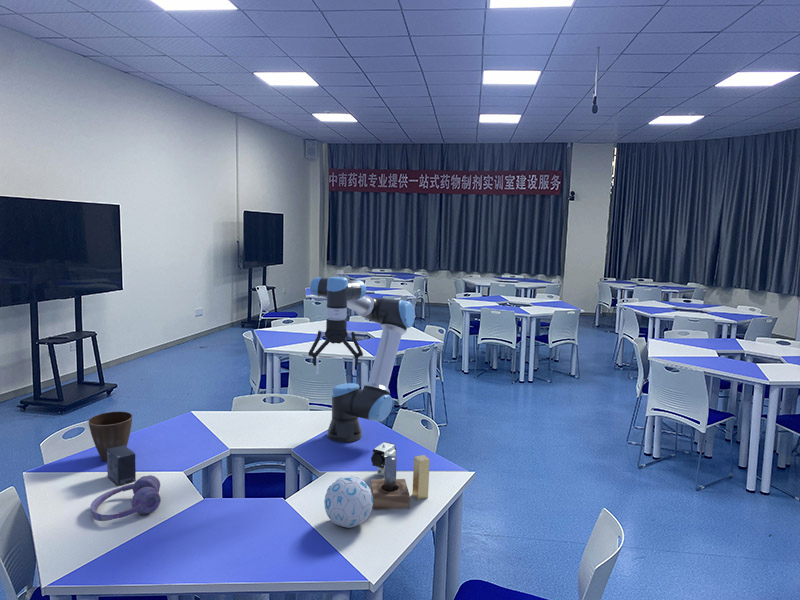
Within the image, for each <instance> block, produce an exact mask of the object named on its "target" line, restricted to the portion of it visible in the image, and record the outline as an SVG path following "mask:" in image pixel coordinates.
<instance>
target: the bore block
mask: <svg viewBox="0 0 800 600" xmlns="http://www.w3.org/2000/svg"><path fill="white" fill-rule="evenodd" d="M370 490H371V493H372V497H373V505H372V510H391V509H392V510H394V509H396V510H397V509H401V510H402V509H410V491H409V489H408V486H407V481H406V478H396V491H393V492H388V491H384V478H383V479H382V478H381V479H380V478H379V479H377V478H376V479H371V480H370Z"/></svg>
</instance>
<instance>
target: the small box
mask: <svg viewBox="0 0 800 600" xmlns="http://www.w3.org/2000/svg"><path fill="white" fill-rule="evenodd" d="M106 462H107V465H106V466H107V467H106V469H107V470H106V471H107V477H108V479H109V480H110V481H112V483H114V484H115V485H116V486H117V487H121V486H125V485H128V484H131V483H135V482H136V481H137V479H136V478H137V477H136V476H137V475H136V472H137V471H136V452H134V451H133V450H132V449H130V448H128V446H127V447H126V446H125V445H122V446H118V447H114V448H109V449H107V461H106Z"/></svg>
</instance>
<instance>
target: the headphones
mask: <svg viewBox="0 0 800 600" xmlns="http://www.w3.org/2000/svg"><path fill="white" fill-rule="evenodd" d="M160 489H161V481H160V480H159V478H158V477H156V476H155V475H152V474H151V475H143V476H141V477H140V478H138V479H136V481H134V482H133V483H129V484H125V485H121V486H119V487H117V488H115V489H112V490H111V489H110V490H109V491H107V492H105V493H103V494H101V495H99V496H98V497H96V498H95V499H93V500H92V501H91V504H90V510H91V515H92V519H93V520H94V521H98V522H107V521H113V520H117V519H121V518H126V517H128V516H131V515H135V514H136V513H137V514H139V515H149V514H150V513H153V512H154V511H157V509H158V508H159V507H160V504H161V499H162V498H161V496H160V494H159V493H160ZM130 490H132V492H133V496H132V499H131V508H129V509H126V510H123V511H120V512H118V513H115V514H101V513H100V512H98V511H97V510H98V508H99V507H100V505H101V504H103V502H104V501H106V500H107V499H109V498H111V497H113V496H114V495H116V494H119V493H121V492H123V493H124V492H126V491H130Z"/></svg>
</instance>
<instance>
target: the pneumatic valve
mask: <svg viewBox="0 0 800 600" xmlns="http://www.w3.org/2000/svg"><path fill="white" fill-rule="evenodd" d="M371 455H372V456H371V459H370V461H371V465H372V466H374V467H377V474H378V475H377V476H381V477H382V476H383V477H384V475H385V457H386V456H395V457H397V448H396V443H391V442H387V441H384V442H382V443H381V444H379V445H377V446H376V447H375V448H373V449H372V454H371Z"/></svg>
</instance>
